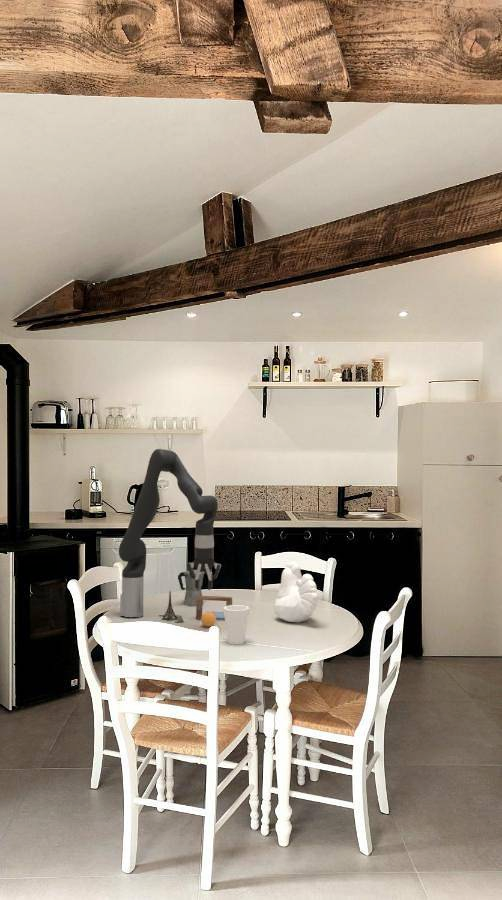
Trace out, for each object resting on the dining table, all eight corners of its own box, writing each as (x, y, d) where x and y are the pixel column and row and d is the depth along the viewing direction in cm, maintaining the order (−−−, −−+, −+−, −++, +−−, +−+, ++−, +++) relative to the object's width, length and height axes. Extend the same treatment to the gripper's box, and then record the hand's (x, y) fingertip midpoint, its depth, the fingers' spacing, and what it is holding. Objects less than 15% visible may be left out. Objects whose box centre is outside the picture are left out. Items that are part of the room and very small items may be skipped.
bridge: (230, 621, 304) (231, 598, 304) (196, 619, 306) (196, 597, 306) (232, 619, 307) (232, 596, 307) (197, 618, 309) (197, 595, 309)
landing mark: (201, 617, 309) (201, 617, 309) (207, 611, 321) (207, 611, 321) (228, 619, 307) (228, 618, 307) (233, 612, 319) (233, 612, 319)
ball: (199, 628, 292) (199, 613, 292) (202, 624, 298) (202, 610, 298) (214, 628, 291) (214, 614, 291) (216, 625, 297) (217, 610, 297)
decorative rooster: (269, 616, 313) (270, 559, 313) (303, 614, 317) (304, 558, 317) (288, 630, 289) (289, 569, 289) (325, 628, 293) (325, 567, 293)
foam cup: (248, 639, 276) (248, 605, 276) (249, 645, 267) (249, 610, 267) (223, 638, 276) (223, 605, 276) (223, 645, 267) (223, 610, 266)
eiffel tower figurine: (184, 624, 300) (185, 592, 300) (160, 625, 298) (160, 592, 298) (181, 615, 315) (181, 585, 315) (157, 616, 313) (158, 586, 313)
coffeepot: (199, 600, 344) (199, 563, 344) (210, 604, 336) (211, 565, 336) (172, 604, 334) (172, 566, 334) (183, 608, 327) (183, 569, 327)
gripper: (184, 546, 282) (184, 590, 282) (220, 547, 280) (219, 591, 280) (188, 544, 289) (188, 586, 290) (223, 545, 287) (223, 588, 287)
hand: (203, 589), depth 285 cm, fingers open, 4 cm apart
